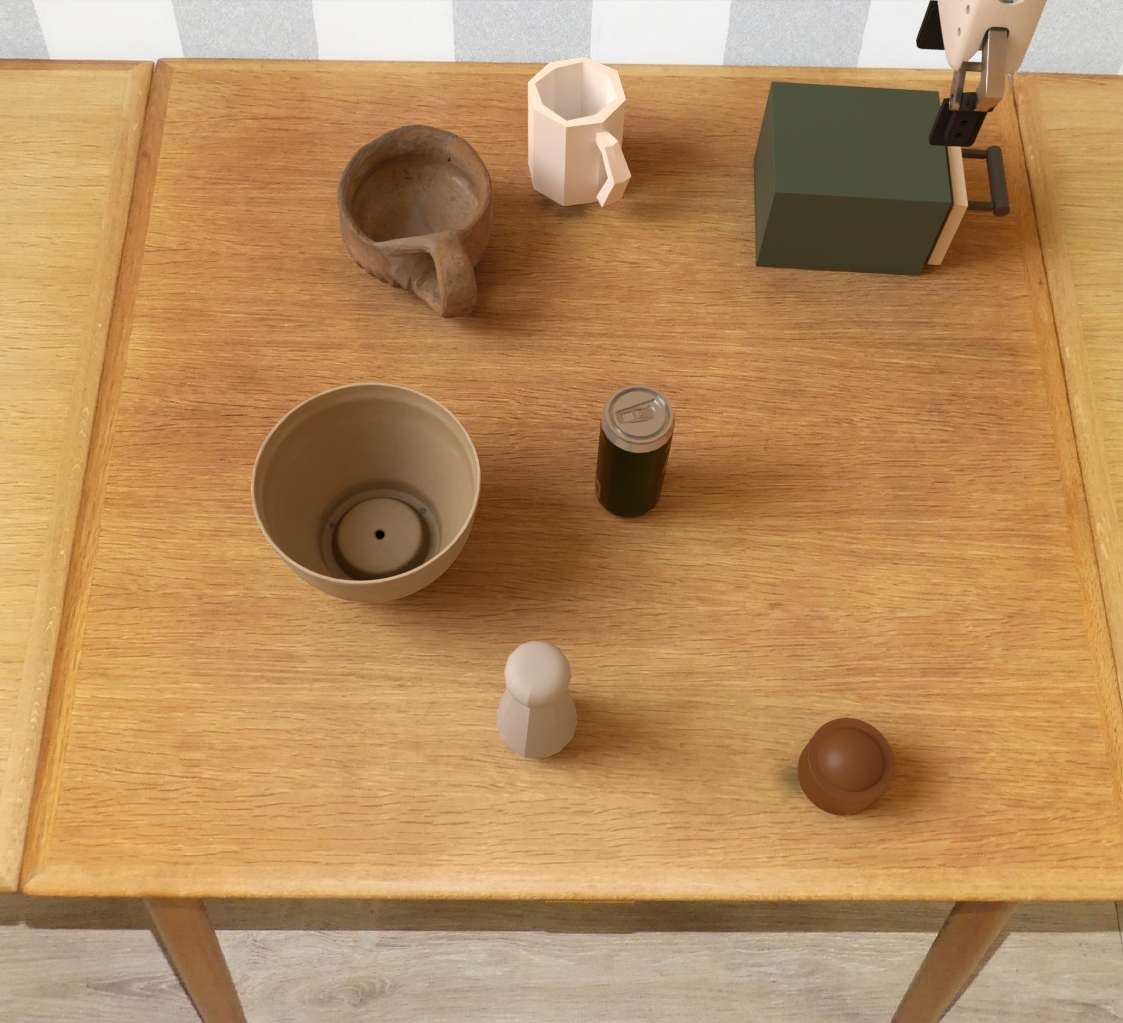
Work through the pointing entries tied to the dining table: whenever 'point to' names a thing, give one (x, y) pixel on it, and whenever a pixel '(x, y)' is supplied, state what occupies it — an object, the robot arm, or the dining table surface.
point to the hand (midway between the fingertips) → (942, 94)
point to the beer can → (633, 450)
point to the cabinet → (848, 179)
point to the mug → (577, 133)
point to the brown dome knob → (845, 766)
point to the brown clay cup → (419, 214)
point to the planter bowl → (367, 490)
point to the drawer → (960, 196)
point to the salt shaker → (536, 701)
